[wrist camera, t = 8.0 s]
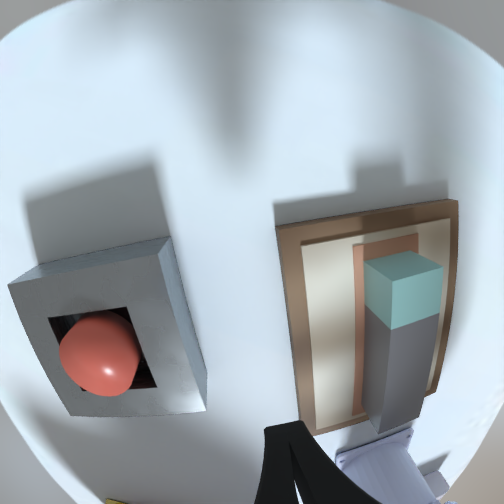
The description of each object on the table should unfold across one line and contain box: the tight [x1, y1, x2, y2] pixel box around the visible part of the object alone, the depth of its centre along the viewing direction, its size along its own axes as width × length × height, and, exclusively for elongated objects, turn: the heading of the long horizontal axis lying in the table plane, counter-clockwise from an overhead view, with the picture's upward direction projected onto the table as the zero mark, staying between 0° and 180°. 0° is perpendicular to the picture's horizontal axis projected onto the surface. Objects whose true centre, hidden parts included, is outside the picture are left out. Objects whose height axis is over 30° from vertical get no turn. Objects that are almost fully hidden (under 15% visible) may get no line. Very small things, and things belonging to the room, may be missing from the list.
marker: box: [361, 250, 443, 434], centre depth 16 cm, size 12×3×3 cm, turn 9°
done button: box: [59, 310, 142, 396], centre depth 13 cm, size 4×4×2 cm
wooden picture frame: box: [275, 199, 458, 436], centre depth 18 cm, size 16×12×1 cm
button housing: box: [8, 236, 207, 417], centre depth 15 cm, size 9×9×4 cm
